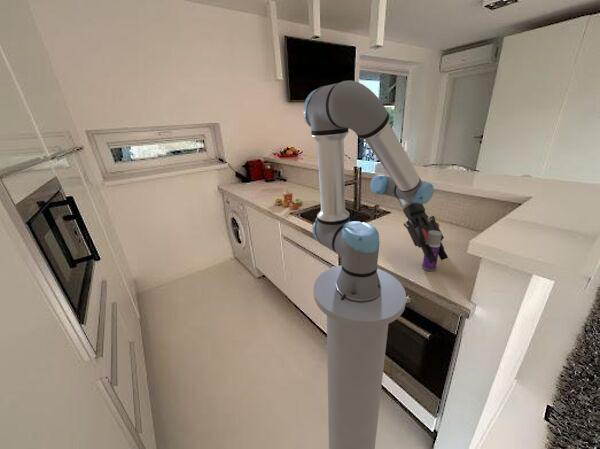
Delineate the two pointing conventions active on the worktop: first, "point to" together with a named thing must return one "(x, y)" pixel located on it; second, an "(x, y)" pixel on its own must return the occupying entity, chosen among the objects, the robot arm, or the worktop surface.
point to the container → (434, 244)
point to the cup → (427, 233)
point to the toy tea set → (288, 200)
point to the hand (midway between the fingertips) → (439, 260)
